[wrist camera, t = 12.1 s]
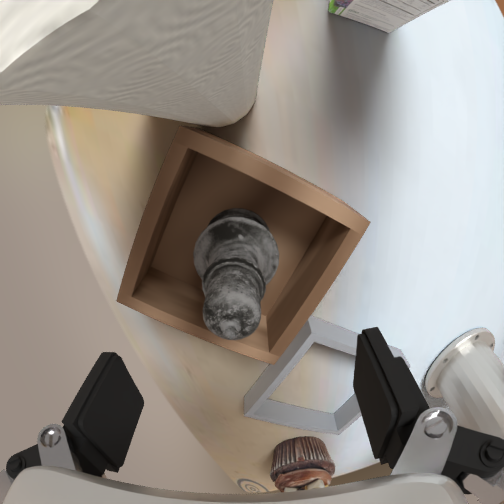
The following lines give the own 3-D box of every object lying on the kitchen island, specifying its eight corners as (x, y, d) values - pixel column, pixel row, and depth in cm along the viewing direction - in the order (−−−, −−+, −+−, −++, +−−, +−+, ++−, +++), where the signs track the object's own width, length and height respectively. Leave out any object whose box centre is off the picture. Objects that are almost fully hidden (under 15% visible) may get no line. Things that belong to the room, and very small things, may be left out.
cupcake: (256, 445, 37) (257, 502, 28) (316, 425, 35) (327, 485, 26) (285, 465, 40) (289, 513, 31) (338, 447, 38) (349, 497, 29)
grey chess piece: (243, 286, 25) (242, 398, 14) (186, 246, 23) (141, 343, 12) (290, 235, 23) (326, 328, 12) (230, 188, 22) (213, 249, 11)
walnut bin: (343, 201, 23) (370, 222, 18) (269, 321, 28) (274, 365, 22) (197, 127, 21) (179, 125, 15) (141, 266, 25) (116, 301, 20)
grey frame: (400, 349, 30) (410, 366, 27) (334, 418, 34) (338, 434, 31) (306, 313, 27) (311, 332, 24) (244, 396, 32) (243, 415, 29)
